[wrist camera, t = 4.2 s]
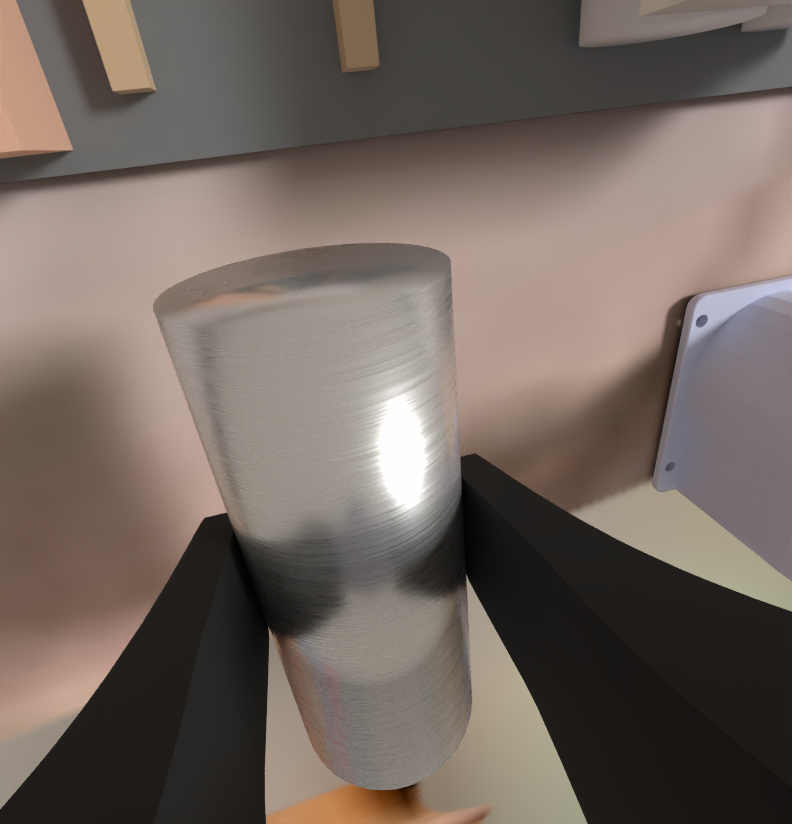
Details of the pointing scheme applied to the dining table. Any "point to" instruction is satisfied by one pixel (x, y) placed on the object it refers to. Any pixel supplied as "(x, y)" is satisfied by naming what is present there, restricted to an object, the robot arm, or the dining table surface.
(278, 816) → the dining table surface
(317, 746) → the roller
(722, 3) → the slab
